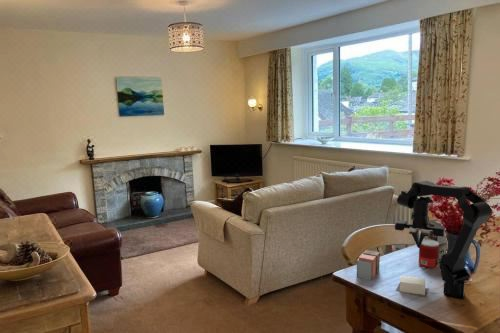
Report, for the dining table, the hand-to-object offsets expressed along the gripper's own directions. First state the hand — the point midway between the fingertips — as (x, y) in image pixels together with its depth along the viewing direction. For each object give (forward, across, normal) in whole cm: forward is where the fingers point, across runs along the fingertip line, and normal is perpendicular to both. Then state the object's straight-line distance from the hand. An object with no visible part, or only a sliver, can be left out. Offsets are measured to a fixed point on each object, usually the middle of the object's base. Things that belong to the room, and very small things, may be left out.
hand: (418, 247), depth 168 cm
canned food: (+13, -2, -14) cm, 19 cm away
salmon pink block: (+13, +18, +10) cm, 25 cm away
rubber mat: (+13, 0, +14) cm, 19 cm away
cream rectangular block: (+12, 0, +14) cm, 19 cm away
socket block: (+13, +19, +7) cm, 24 cm away
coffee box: (+13, -3, -28) cm, 31 cm away
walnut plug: (+13, +18, +5) cm, 23 cm away
